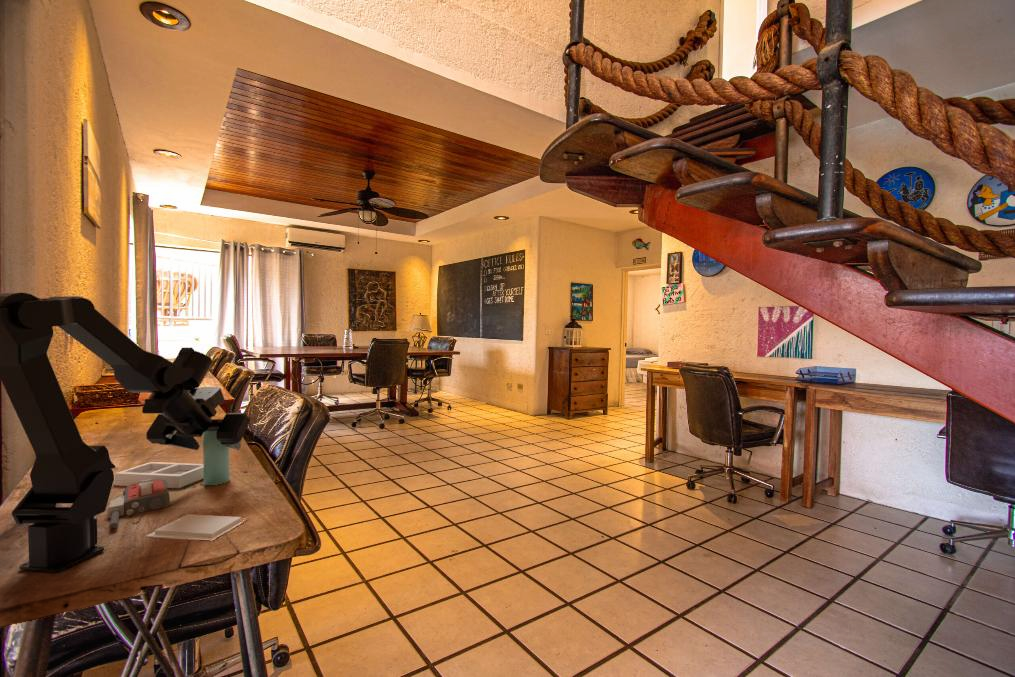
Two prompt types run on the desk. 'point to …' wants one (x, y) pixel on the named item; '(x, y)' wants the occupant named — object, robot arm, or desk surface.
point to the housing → (161, 474)
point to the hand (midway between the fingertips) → (218, 448)
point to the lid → (197, 527)
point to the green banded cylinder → (215, 460)
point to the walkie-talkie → (139, 499)
